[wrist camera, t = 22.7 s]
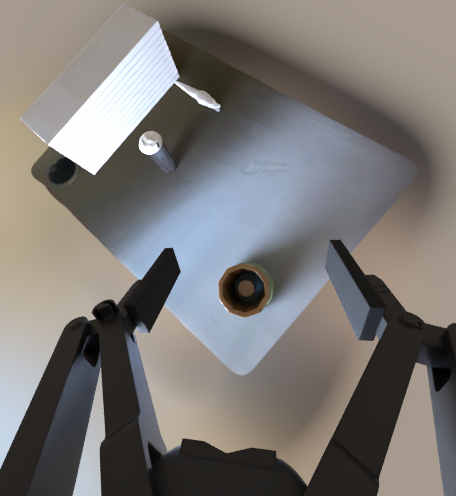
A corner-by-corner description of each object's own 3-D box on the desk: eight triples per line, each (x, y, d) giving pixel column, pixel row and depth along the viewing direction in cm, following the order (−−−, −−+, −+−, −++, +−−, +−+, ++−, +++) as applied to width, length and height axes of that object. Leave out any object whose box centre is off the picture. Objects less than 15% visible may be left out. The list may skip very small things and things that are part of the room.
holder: (282, 280, 37) (289, 279, 28) (256, 321, 36) (255, 334, 28) (242, 254, 39) (237, 246, 30) (217, 293, 38) (204, 296, 30)
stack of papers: (94, 174, 48) (47, 144, 37) (69, 152, 50) (19, 118, 40) (179, 76, 49) (157, 20, 38) (150, 59, 51) (122, 2, 41)
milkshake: (173, 181, 44) (149, 153, 34) (156, 170, 45) (128, 139, 36) (185, 165, 44) (164, 132, 35) (168, 154, 45) (143, 120, 36)
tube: (273, 281, 36) (280, 281, 24) (253, 313, 35) (250, 328, 24) (244, 262, 37) (236, 253, 26) (224, 292, 37) (208, 297, 25)
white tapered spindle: (224, 107, 45) (223, 100, 43) (217, 116, 45) (215, 109, 43) (178, 80, 49) (175, 72, 47) (171, 88, 49) (168, 81, 47)
